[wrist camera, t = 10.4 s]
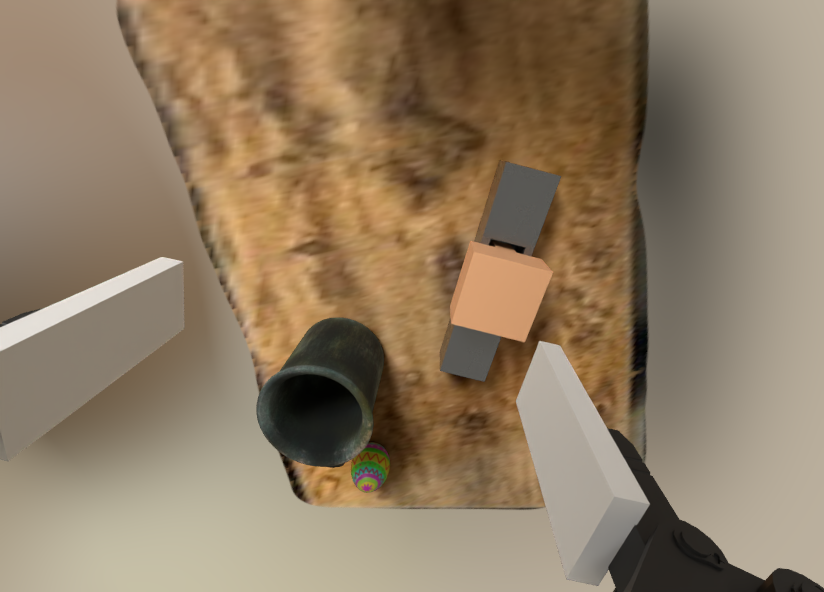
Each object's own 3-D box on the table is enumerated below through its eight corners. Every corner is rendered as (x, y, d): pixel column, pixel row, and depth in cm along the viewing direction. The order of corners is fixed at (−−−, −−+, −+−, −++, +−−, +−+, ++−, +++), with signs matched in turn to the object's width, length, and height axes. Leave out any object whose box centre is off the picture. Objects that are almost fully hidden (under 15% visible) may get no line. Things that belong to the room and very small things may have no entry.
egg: (371, 431, 51) (363, 466, 45) (399, 452, 52) (394, 489, 46) (347, 451, 52) (337, 488, 47) (375, 471, 53) (368, 510, 48)
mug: (383, 309, 44) (365, 365, 33) (395, 414, 50) (382, 493, 39) (290, 313, 45) (242, 369, 34) (311, 416, 51) (276, 493, 39)
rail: (499, 159, 38) (506, 161, 34) (549, 173, 38) (561, 176, 34) (439, 352, 46) (439, 370, 42) (480, 362, 46) (484, 381, 42)
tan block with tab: (511, 311, 42) (524, 342, 36) (449, 295, 42) (451, 323, 36) (534, 250, 40) (553, 272, 33) (468, 233, 40) (473, 251, 33)
